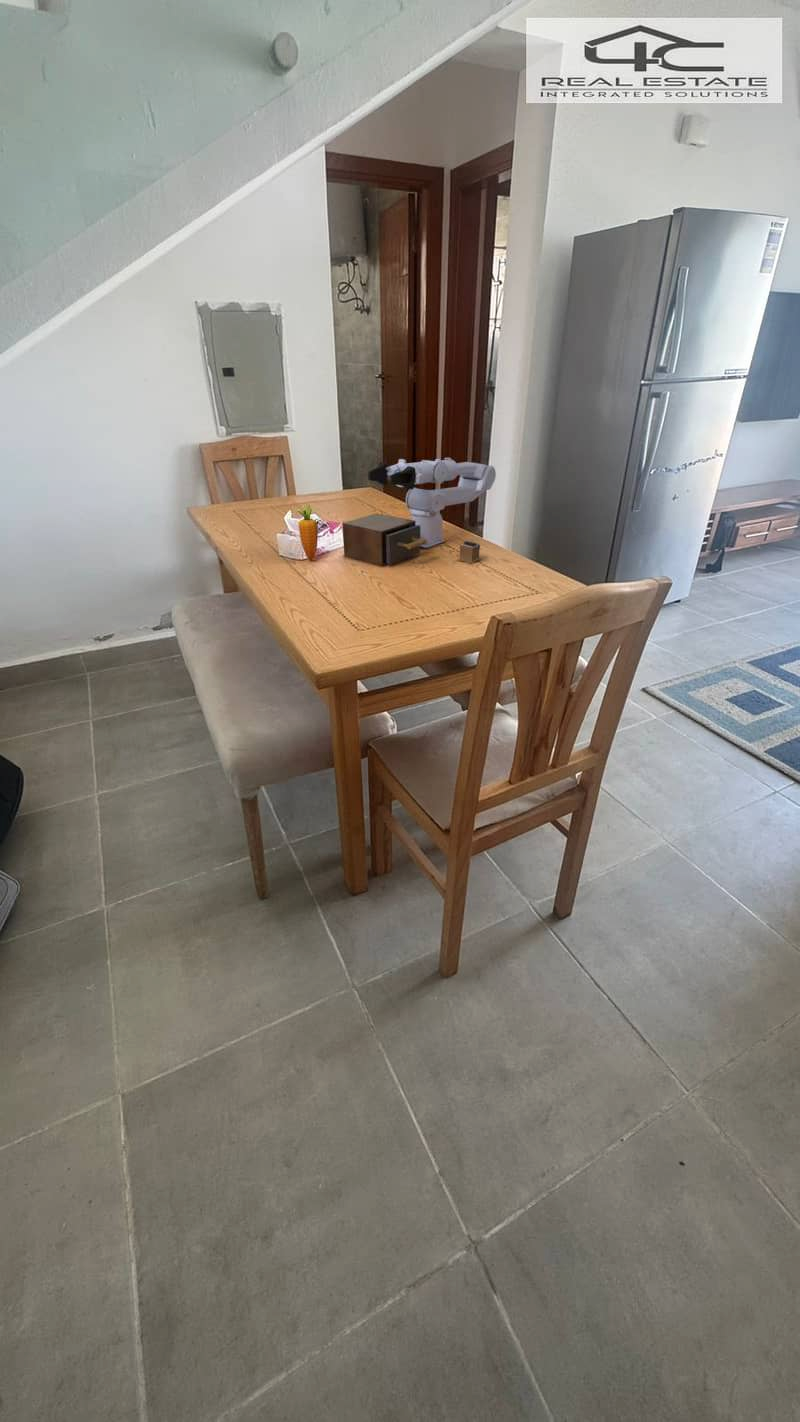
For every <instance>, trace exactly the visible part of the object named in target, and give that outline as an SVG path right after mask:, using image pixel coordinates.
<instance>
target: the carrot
mask: <svg viewBox="0 0 800 1422" xmlns="http://www.w3.org/2000/svg"><path fill="white" fill-rule="evenodd" d="M305 507H306V508H303V509H297V513H299V514H301V516H302V517H303V519H301V520H300V521H299V522H298V531H299V539H300V542H301V546H302V549H303V552H304V554H305V556H306V557H307V559H308V560H309V561H310V562H313V560H314V558H315V556H316V553H317V549H318V539H319V538H318V536H319V531H318V522H317V520H315V519H313V518H311V514H312V510H313V509H312V508H311V506H310V504H308V503H307V504H305Z"/></svg>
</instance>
